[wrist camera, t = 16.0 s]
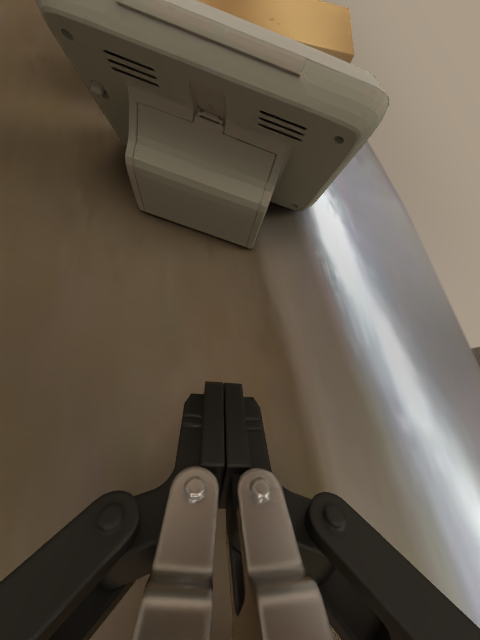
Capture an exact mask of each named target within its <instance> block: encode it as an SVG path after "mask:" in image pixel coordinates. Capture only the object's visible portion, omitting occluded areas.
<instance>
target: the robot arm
mask: <svg viewBox="0 0 480 640" xmlns="http://www.w3.org/2000/svg"><path fill="white" fill-rule="evenodd" d="M217 507H218V509H226V544H227V557H228V569H229V581H230V594H231V606H232V640H335V639H334V636H333V633H332V629H331V626H332V627H333V629H334V630H335V631H336V633H337V634H338V635H339V637H340V638H341V639H342V640H480V628H479V627H477V626H476V625H475V624H474V623H473V622H472V621H471V620H470V619H469V618H468V617H467V616H466V615H465V614H464V613H463V612H462V611H461V610H459V609H458V608H457V607H456V606H455V605H454V604H453V603H452V602H451V601H450V600H449V599H448V598H447V597H446V596H445V595H444V594H443V593H442V592H440V591H439V590H438V589H437V588H436V587H435V586H434V585H433V584H432V583H431V582H430V581H429V580H428V579H427V578H426V577H425V576H424V575H422V574H421V573H420V572H419V571H418V570H417V569H416V568H415V567H414V566H413V565H412V564H411V563H410V562H409V561H408V560H407V559H406V558H404V557H403V556H402V555H401V554H400V553H399V552H398V551H397V550H396V549H395V548H394V547H393V546H392V545H391V544H390V543H389V542H388V541H386V540H385V539H384V538H383V537H382V536H381V535H380V534H379V533H378V532H377V531H376V530H375V529H374V528H373V527H372V526H371V525H370V524H369V523H367V522H366V521H365V520H364V519H363V518H362V517H361V516H360V515H359V514H358V513H357V512H356V511H355V510H354V509H353V508H352V507H351V506H349V505H348V504H347V503H346V502H345V501H344V500H343V499H342V498H340V497H339V496H337V495H335V494H332V493H328V492H322V493H319V494H317V495H315V496H314V497H313V499H312V500H311V499H309V498H306V497H303V496H301V495H298V494H295V493H293V492H290V491H288V490H287V489H285V488H284V487H283V486H281V484H280V482H279V480H278V479H277V478H276V477H275V476H274V475H273V473H272V471H271V467H270V462H269V456H268V450H267V444H266V439H265V433H264V427H263V422H262V416H261V410H260V407H259V405H258V404H257V402H256V401H255V399H254V398H253V397H243V390H242V384H235V383H224V385H223V383H222V382H207V381H206V382H205V390H204V394H191V395H190V396H189V398H188V399H187V401H186V402H185V404H184V410H183V417H182V424H181V430H180V437H179V443H178V450H177V456H176V463H175V468H174V470H173V472H172V474H171V476H170V477H169V478H168V480H167V481H166V482H165V483H164V484H162V485H161V486H159V487H158V488H156V489H154V490H151V491H148V492H145V493H142V494H139V495H136V496H133V495H132V494H130V493H128V492H125V491H112V492H109V493H106V494H104V495H102V496H100V497H99V498H98V499H96V500H95V501H94V502H93V503H91V504H90V505H89V506H88V507H87V508H86V509H84V510H83V511H82V512H81V513H80V514H79V515H78V516H76V517H75V518H74V519H73V520H72V521H71V522H69V523H68V524H67V525H66V526H65V527H64V528H62V529H61V530H60V531H59V532H58V533H57V534H55V535H54V536H53V537H52V538H51V539H50V540H49V541H47V542H46V543H45V544H44V545H43V546H42V547H40V548H39V549H38V550H37V551H36V552H35V553H33V554H32V555H31V556H30V557H29V558H28V559H27V560H25V561H24V562H23V563H22V564H21V565H20V566H18V567H17V568H16V569H15V570H14V571H13V572H11V573H10V574H9V575H8V576H7V577H6V578H4V579H3V580H2V581H1V582H0V640H89V639H90V638H91V637H92V635H93V634H94V633H95V632H96V630H97V629H98V628H99V627H100V625H101V624H102V623H103V622H104V620H105V619H106V618H107V616H108V615H109V614H110V613H111V611H112V610H113V609H114V608H115V606H116V605H117V604H118V603H119V601H120V600H121V599H122V598H123V596H124V595H125V594H126V593H127V591H128V590H129V589H130V588H131V586H132V585H133V584H134V582H135V581H136V579H139V578H141V577H143V576H145V575H147V574H150V573H151V574H150V577H149V579H148V581H147V583H146V586H145V590H144V593H143V597H142V601H141V605H140V609H139V613H138V617H137V622H136V626H135V630H134V634H133V638H132V640H210V631H211V616H212V600H213V583H212V576H213V561H214V547H215V534H216V520H217ZM330 625H331V626H330Z"/></svg>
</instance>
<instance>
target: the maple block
mask: <svg viewBox="0 0 480 640" xmlns="http://www.w3.org/2000/svg"><path fill="white" fill-rule="evenodd" d="M197 1H199V2H202V3H204V4H207V5H209V6H212V7H214V8H216V9H219V10H221V11H224V12H226V13H229V14H231V15H234V16H236V17H238V18H241V19H243V20H246V21H248V22H251V23H253V24H256V25H258V26H261V27H263V28H265V29H268V30H270V31H273V32H275V33H278V34H280V35H283V36H285V37H288V38H290V39H292V40H295V41H297V42H300V43H302V44H305V45H307V46H310V47H312V48H315V49H317V50H319V51H322V52H324V53H327V54H329V55H331V56H334V57H336V58H339V59H341V60H343V61H345V62H348V63H351V61H352V59H353V57H354V48H353V39H352V30H351V22H350V12H349V8H346V7H342V6H338V5H335V4H331V3H327V2H323V1H320V0H197Z"/></svg>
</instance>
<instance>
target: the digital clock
mask: <svg viewBox="0 0 480 640" xmlns="http://www.w3.org/2000/svg"><path fill="white" fill-rule="evenodd" d="M36 2H37V5H38V7H39V9H40V11H41V13H42V16H43V18H44V20H45V21H46V23H47V25H48V27H49V28H50V30H51V31H52V33H53V35H54V36H55V38H56V39H57V41H58V43H59V44H60V46H61V47H62V49H63V51H64V52H65V54H66V55H67V57H68V58H69V60H70V62H71V63H72V65H73V66H74V68H75V69H76V71H77V72H78V74H79V76H80V77H81V79H82V80H83V82H84V83H85V85H86V86H87V88H88V90H89V91H90V93H91V94H92V96H93V97H94V99H95V100H96V102H97V104H98V105H99V107H100V108H101V110H102V111H103V113H104V114H105V116H106V118H107V119H108V121H109V122H110V124H111V125H112V127H113V129H114V130H115V132H116V133H117V135H118V136H119V138H120V139H121V141H122V142H123V143H124V144H125V145H126V146H127V147H126V153H125V162H126V167H127V172H128V175H129V178H130V182H131V185H132V188H133V191H134V195H135V198H136V201H137V204H138V207H139V209H140V210H142V211H145V212H148V213H150V214H153V215H156V216H159V217H162V218H165V219H167V220H170V221H173V222H176V223H179V224H182V225H184V226H187V227H190V228H193V229H196V230H199V231H201V232H204V233H207V234H210V235H213V236H216V237H218V238H221V239H224V240H227V241H230V242H233V243H235V244H238V245H241V246H244V247H247V248H249V249H252V248H253V246H254V243H255V241H256V238H257V235H258V233H259V230H260V227H261V225H262V222H263V219H264V216H265V214H266V211H267V208H268V205H269V202H272V203H275V204H278V205H281V206H284V207H287V208H289V209H292V210H296V211H303V210H305V209H307V208H309V207H310V206H312V205H313V204H314V203H315V202H316V201H317V200H318V198H319V197H320V196H321V195H322V194H323V193H324V191H325V190H326V189H327V188H328V187H329V185H330V184H331V183H332V182H333V181H334V179H335V178H336V177H337V176H338V175H339V174H340V172H341V171H342V170H343V169H344V168H345V166H346V165H347V164H348V163H349V162H350V160H351V159H352V158H353V157H354V156H355V154H356V153H357V152H358V151H359V150H360V149H361V147H362V146H363V145H364V144H365V142H366V141H367V140H368V138H369V137H370V136H371V135H372V133H373V132H374V131H375V129H376V128H377V127H378V125H379V123H380V122H381V121H382V119H383V117H384V115H385V112H386V110H387V108H388V105H389V97H388V96H387V94H386V93H385V91H384V90H383V88H382V86H381V85H380V84H379V82H378V80H377V79H376V77H374V76H373V75H372V74H370V73H369V72H367V71H365V70H363V69H361V68H359V67H357V66H354V65H352V64H350V63H348V62H345V61H343V60H341V59H339V58H336V57H334V56H331V55H329V54H327V53H324V52H322V51H319V50H317V49H315V48H312V47H310V46H307V45H305V44H302V43H300V42H297V41H295V40H292V39H290V38H288V37H285V36H283V35H280V34H278V33H275V32H273V31H270V30H268V29H265V28H263V27H261V26H258V25H256V24H253V23H251V22H248V21H246V20H243V19H241V18H238V17H236V16H234V15H231V14H229V13H226V12H224V11H221V10H219V9H216V8H214V7H212V6H209V5H207V4H204V3H202V2H199V1H197V0H36Z"/></svg>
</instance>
